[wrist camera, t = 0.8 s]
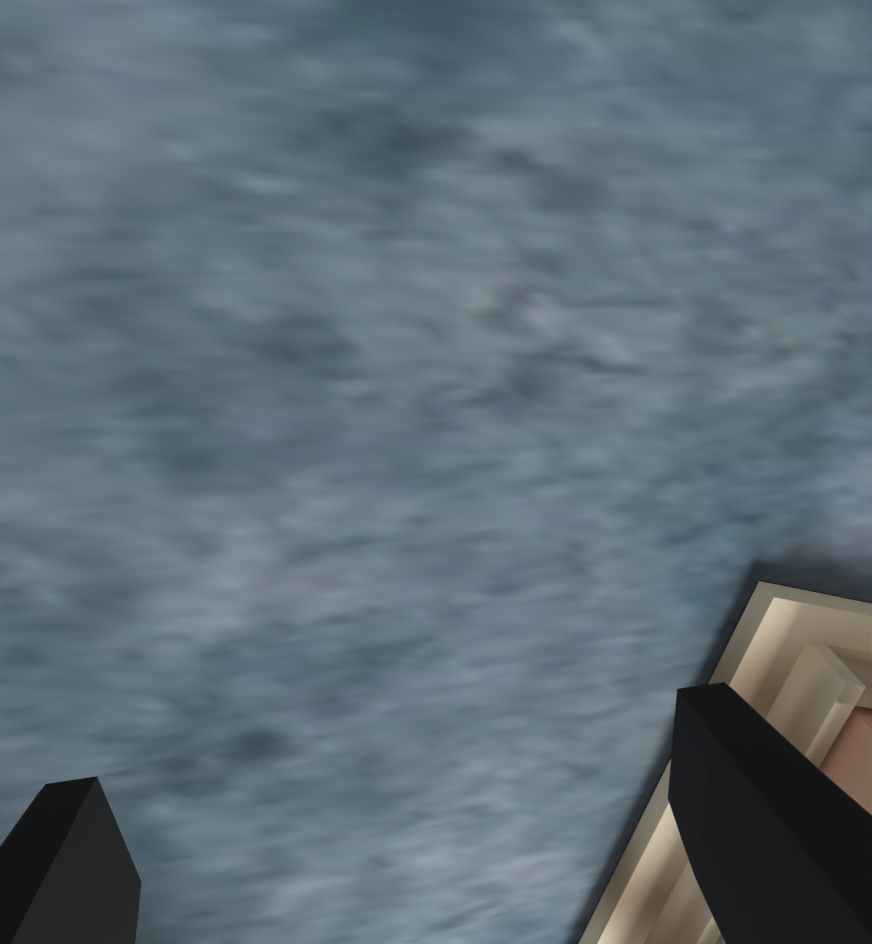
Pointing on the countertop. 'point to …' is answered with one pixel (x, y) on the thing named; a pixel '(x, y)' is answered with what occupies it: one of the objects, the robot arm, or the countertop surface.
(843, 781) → the tile three
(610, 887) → the tile board
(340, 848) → the countertop surface
